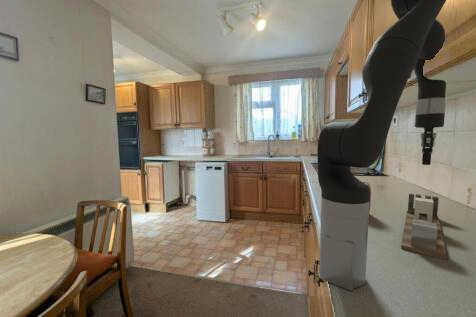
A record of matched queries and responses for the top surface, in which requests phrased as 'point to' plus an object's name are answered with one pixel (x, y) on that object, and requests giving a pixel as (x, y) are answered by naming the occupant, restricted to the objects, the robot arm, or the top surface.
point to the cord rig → (423, 231)
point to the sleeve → (423, 208)
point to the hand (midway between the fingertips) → (426, 164)
